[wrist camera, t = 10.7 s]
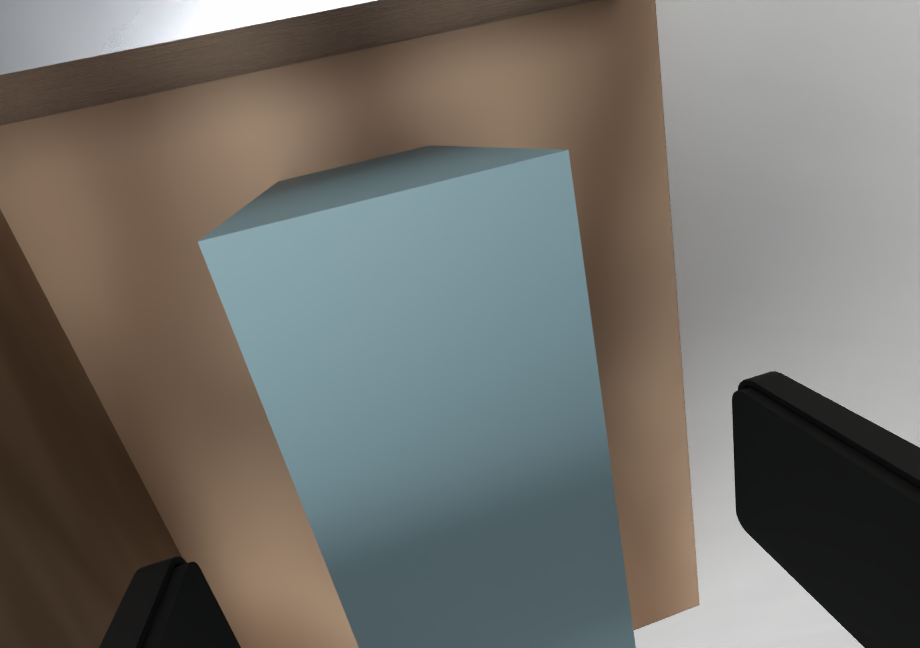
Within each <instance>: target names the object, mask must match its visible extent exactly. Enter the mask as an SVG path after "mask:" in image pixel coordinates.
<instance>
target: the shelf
mask: <svg viewBox="0 0 920 648" xmlns="http://www.w3.org/2000/svg"><path fill="white" fill-rule="evenodd" d="M429 145H433V146H464V147H496V148H528V149H560V150H569V158H570V165H571V172H572V180H573V187H574V195H575V202H576V209H577V217H578V224H579V232H580V239H581V246H582V254H583V261H584V269H585V276H586V284H587V291H588V298H589V306H590V313H591V321H592V328H593V335H594V343H595V350H596V358H597V365H598V372H599V380H600V387H601V395H602V402H603V410H604V417H605V424H606V432H607V439H608V447H609V454H610V461H611V469H612V476H613V484H614V491H615V498H616V506H617V513H618V521H619V528H620V535H621V543H622V550H623V558H624V565H625V573H626V580H627V587H628V595H629V602H630V610H631V617H632V624H633V630H636V629H639V628H641V627H644V626H646V625H649V624H651V623H654V622H657V621H659V620H662V619H664V618H667V617H670V616H672V615H675V614H677V613H680V612H682V611H685V610H688V609H690V608H693V607H695V606H698V605H699V593H698V579H697V565H696V551H695V538H694V524H693V510H692V497H691V483H690V469H689V456H688V442H687V428H686V415H685V401H684V387H683V374H682V360H681V346H680V333H679V319H678V305H677V291H676V278H675V264H674V250H673V237H672V223H671V209H670V196H669V182H668V168H667V155H666V141H665V127H664V114H663V100H662V86H661V73H660V59H659V45H658V31H657V18H656V4H655V0H0V648H99V646H100V644H101V642H102V640H103V638H104V636H105V634H106V632H107V630H108V628H109V626H110V624H111V621H112V619H113V617H114V615H115V613H116V611H117V609H118V607H119V605H120V603H121V601H122V599H123V597H124V594H125V592H126V590H127V588H128V586H129V584H130V582H131V580H132V578H133V576H134V574H135V573H136V571H137V570H138V569H140V568H141V567H144V566H147V565H150V564H154V563H157V562H160V561H163V560H167V559H170V558H173V557H176V556H179V557H182V558H183V559H185V561H186V562H187V563H189V562H196V563H197V564H198V565H199V567H200V569H201V571H202V573H203V574H204V576H205V578H206V580H207V582H208V584H209V586H210V588H211V590H212V592H213V594H214V596H215V598H216V600H217V602H218V604H219V606H220V608H221V610H222V612H223V614H224V615H225V617H226V619H227V621H228V623H229V625H230V627H231V629H232V631H233V633H234V635H235V637H236V639H237V641H238V643H239V645H240V647H241V648H359V647H358V644H357V642H356V639H355V637H354V634H353V632H352V629H351V627H350V624H349V622H348V619H347V616H346V614H345V611H344V609H343V606H342V604H341V601H340V599H339V596H338V594H337V591H336V589H335V586H334V584H333V581H332V579H331V576H330V574H329V571H328V569H327V566H326V564H325V561H324V559H323V556H322V554H321V551H320V549H319V546H318V543H317V541H316V538H315V536H314V533H313V531H312V528H311V526H310V523H309V521H308V518H307V516H306V513H305V511H304V508H303V506H302V503H301V501H300V498H299V496H298V493H297V491H296V488H295V486H294V483H293V481H292V478H291V476H290V473H289V470H288V468H287V465H286V463H285V460H284V458H283V455H282V453H281V450H280V448H279V445H278V443H277V440H276V438H275V435H274V433H273V430H272V428H271V425H270V423H269V420H268V418H267V415H266V413H265V410H264V408H263V405H262V403H261V400H260V397H259V395H258V392H257V390H256V387H255V385H254V382H253V380H252V377H251V375H250V372H249V370H248V367H247V365H246V362H245V360H244V357H243V355H242V352H241V350H240V347H239V345H238V342H237V340H236V337H235V335H234V332H233V329H232V327H231V324H230V322H229V319H228V317H227V314H226V312H225V309H224V307H223V304H222V302H221V299H220V297H219V294H218V292H217V289H216V287H215V284H214V282H213V279H212V277H211V274H210V272H209V269H208V267H207V264H206V262H205V259H204V256H203V254H202V251H201V249H200V246H199V244H198V241H199V240H200V239H202V238H203V237H204V236H206V235H207V234H208V233H210V232H211V231H212V230H214V229H215V228H216V227H218V226H219V225H220V224H222V223H223V222H224V221H226V220H227V219H228V218H230V217H231V216H233V215H234V214H235V213H237V212H238V211H239V210H241V209H242V208H243V207H245V206H246V205H247V204H249V203H250V202H251V201H253V200H254V199H255V198H257V197H258V196H259V195H261V194H262V193H263V192H265V191H266V190H267V189H269V188H270V187H271V186H273V185H274V184H275V183H277V182H278V181H282V180H286V179H290V178H294V177H298V176H303V175H307V174H311V173H315V172H320V171H324V170H328V169H332V168H336V167H341V166H345V165H349V164H353V163H357V162H362V161H366V160H370V159H374V158H378V157H383V156H387V155H391V154H395V153H400V152H404V151H408V150H412V149H416V148H421V147H425V146H429Z"/></svg>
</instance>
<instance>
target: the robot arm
mask: <svg viewBox="0 0 920 648" xmlns="http://www.w3.org/2000/svg"><path fill="white" fill-rule="evenodd" d="M732 413H733V441H734V469H735V497H736V513H737V517H738V520H739V522H740V524H741V525H742V527H743V528H744V530H745V531H746V532H747V533H748V534H749V535H750V536H751V537H752V538H753V539H754V540H755V541H756V542H757V543H758V544H759V545H760V546H761V547H762V548H763V549H764V550H765V551H766V552H767V553H768V554H769V555H770V556H771V557H772V558H773V559H774V560H776V561H777V562H778V563H779V564H780V565H781V566H782V567H783V568H784V569H785V570H786V571H787V572H788V573H789V574H790V575H791V576H792V577H793V578H794V579H795V580H796V581H797V582H798V583H799V584H800V585H801V586H802V587H803V588H804V589H805V590H806V591H807V592H808V593H809V594H810V595H811V596H812V597H813V598H814V599H815V600H816V601H817V602H819V603H820V604H821V605H822V606H823V607H824V608H825V609H826V610H827V611H828V612H829V613H830V614H831V615H832V616H833V617H834V618H835V619H836V620H837V621H838V622H839V623H840V624H841V625H842V626H843V627H844V628H845V629H846V630H847V631H848V632H849V633H850V634H851V635H852V636H853V637H854V638H855V639H856V640H857V641H858V642H859V643H860V644H861V645H863V646H864V647H865V648H920V448H919V447H917V446H915V445H914V444H912V443H910V442H908V441H906V440H904V439H902V438H900V437H899V436H897V435H895V434H893V433H891V432H889V431H887V430H886V429H884V428H882V427H880V426H878V425H876V424H874V423H873V422H871V421H869V420H867V419H865V418H863V417H861V416H859V415H858V414H856V413H854V412H852V411H850V410H848V409H846V408H845V407H843V406H841V405H839V404H837V403H835V402H833V401H832V400H830V399H828V398H826V397H824V396H822V395H820V394H819V393H817V392H815V391H813V390H811V389H809V388H807V387H805V386H804V385H802V384H800V383H798V382H796V381H794V380H792V379H791V378H789V377H787V376H785V375H783V374H781V373H779V372H776V371H774V372H768V373H765V374H762V375H758V376H755V377H752V378H749V379H746V380H743V381H742V382H740V384H739V386H738V391H736V392H735V393H734V394H733V396H732ZM99 648H241V647H240V645H239V643H238V641H237V639H236V637H235V635H234V633H233V631H232V629H231V627H230V625H229V623H228V621H227V619H226V617H225V615H224V614H223V612H222V610H221V608H220V606H219V604H218V602H217V600H216V598H215V596H214V594H213V592H212V590H211V588H210V586H209V584H208V582H207V580H206V578H205V576H204V574H203V573H202V571H201V569H200V567H199V565H198V564H197V563H196V562H189V563H187V562H186V561H185V559H183V558H182V557H179V556H176V557H173V558H170V559H167V560H163V561H160V562H157V563H154V564H150V565H147V566H144V567H141V568H140V569H138V570H137V571H136V573H135V574H134V576H133V578H132V580H131V582H130V584H129V586H128V588H127V590H126V592H125V594H124V597H123V599H122V601H121V603H120V605H119V607H118V609H117V611H116V613H115V615H114V617H113V619H112V621H111V624H110V626H109V628H108V630H107V632H106V634H105V636H104V638H103V640H102V642H101V644H100V646H99Z"/></svg>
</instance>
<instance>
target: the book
mask: <svg viewBox="0 0 920 648" xmlns="http://www.w3.org/2000/svg"><path fill="white" fill-rule="evenodd" d="M198 244H199V246H200V249H201V251H202V254H203V256H204V259H205V262H206V264H207V267H208V269H209V272H210V274H211V277H212V279H213V282H214V284H215V287H216V289H217V292H218V294H219V297H220V299H221V302H222V304H223V307H224V309H225V312H226V314H227V317H228V319H229V322H230V324H231V327H232V329H233V332H234V335H235V337H236V340H237V342H238V345H239V347H240V350H241V352H242V355H243V357H244V360H245V362H246V365H247V367H248V370H249V372H250V375H251V377H252V380H253V382H254V385H255V387H256V390H257V392H258V395H259V397H260V400H261V403H262V405H263V408H264V410H265V413H266V415H267V418H268V420H269V423H270V425H271V428H272V430H273V433H274V435H275V438H276V440H277V443H278V445H279V448H280V450H281V453H282V455H283V458H284V460H285V463H286V465H287V468H288V470H289V473H290V476H291V478H292V481H293V483H294V486H295V488H296V491H297V493H298V496H299V498H300V501H301V503H302V506H303V508H304V511H305V513H306V516H307V518H308V521H309V523H310V526H311V528H312V531H313V533H314V536H315V538H316V541H317V543H318V546H319V549H320V551H321V554H322V556H323V559H324V561H325V564H326V566H327V569H328V571H329V574H330V576H331V579H332V581H333V584H334V586H335V589H336V591H337V594H338V596H339V599H340V601H341V604H342V606H343V609H344V611H345V614H346V616H347V619H348V622H349V624H350V627H351V629H352V632H353V634H354V637H355V639H356V642H357V644H358V647H359V648H636V647H635V639H634V632H633V624H632V617H631V610H630V602H629V595H628V587H627V580H626V573H625V565H624V558H623V550H622V543H621V535H620V528H619V521H618V513H617V506H616V498H615V491H614V484H613V476H612V469H611V461H610V454H609V447H608V439H607V432H606V424H605V417H604V410H603V402H602V395H601V387H600V380H599V372H598V365H597V358H596V350H595V343H594V335H593V328H592V321H591V313H590V306H589V298H588V291H587V284H586V276H585V269H584V261H583V254H582V246H581V239H580V232H579V224H578V217H577V209H576V202H575V195H574V187H573V180H572V172H571V165H570V158H569V150H560V149H528V148H496V147H464V146H433V145H429V146H425V147H421V148H416V149H412V150H408V151H404V152H400V153H395V154H391V155H387V156H383V157H378V158H374V159H370V160H366V161H362V162H357V163H353V164H349V165H345V166H341V167H336V168H332V169H328V170H324V171H320V172H315V173H311V174H307V175H303V176H298V177H294V178H290V179H286V180H282V181H278V182H277V183H275V184H274V185H273V186H271V187H270V188H269V189H267V190H266V191H265V192H263V193H262V194H261V195H259V196H258V197H257V198H255V199H254V200H253V201H251V202H250V203H249V204H247V205H246V206H245V207H243V208H242V209H241V210H239V211H238V212H237V213H235V214H234V215H233V216H231V217H230V218H228V219H227V220H226V221H224V222H223V223H222V224H220V225H219V226H218V227H216V228H215V229H214V230H212V231H211V232H210V233H208V234H207V235H206V236H204V237H203V238H202V239H200V240H199V241H198Z"/></svg>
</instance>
